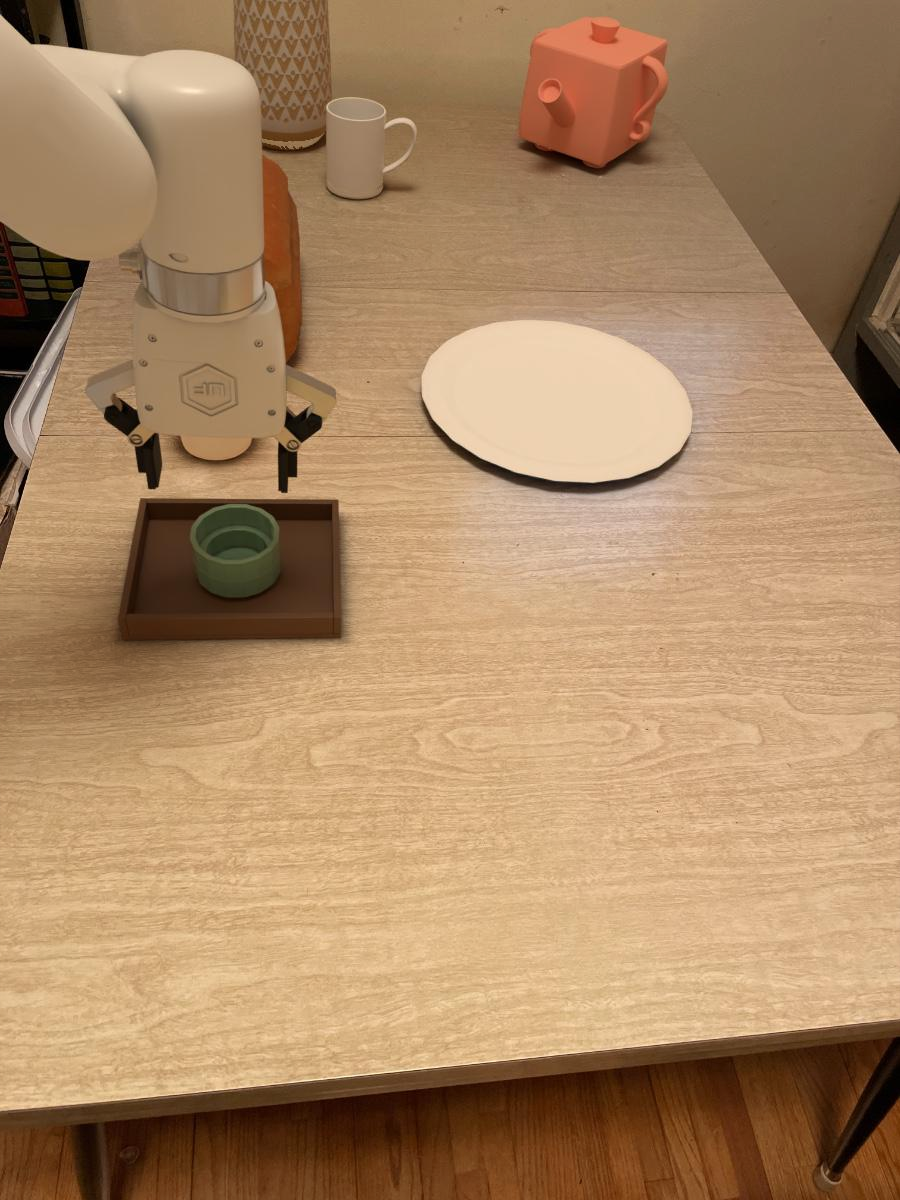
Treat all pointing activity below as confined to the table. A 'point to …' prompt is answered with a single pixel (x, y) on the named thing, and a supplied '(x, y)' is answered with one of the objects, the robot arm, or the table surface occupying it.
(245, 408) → the robot arm
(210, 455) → the cup
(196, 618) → the tray
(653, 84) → the teapot
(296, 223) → the bread
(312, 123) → the vase
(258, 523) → the bowl
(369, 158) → the mug
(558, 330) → the plate
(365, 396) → the table surface
